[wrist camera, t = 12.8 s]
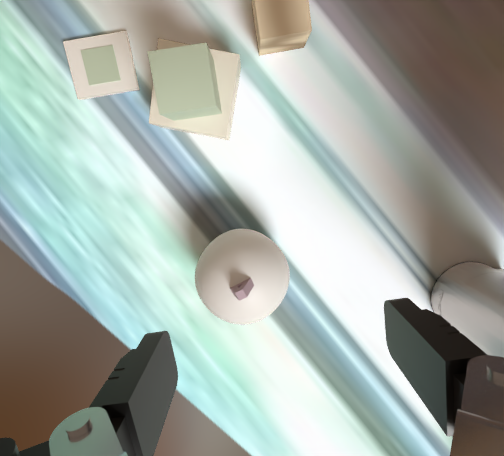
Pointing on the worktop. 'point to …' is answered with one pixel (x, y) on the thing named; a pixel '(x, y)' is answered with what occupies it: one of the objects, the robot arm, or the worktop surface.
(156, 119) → the base block
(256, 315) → the ornament
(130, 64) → the card
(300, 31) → the birch cube
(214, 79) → the sage cube
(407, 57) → the worktop surface
